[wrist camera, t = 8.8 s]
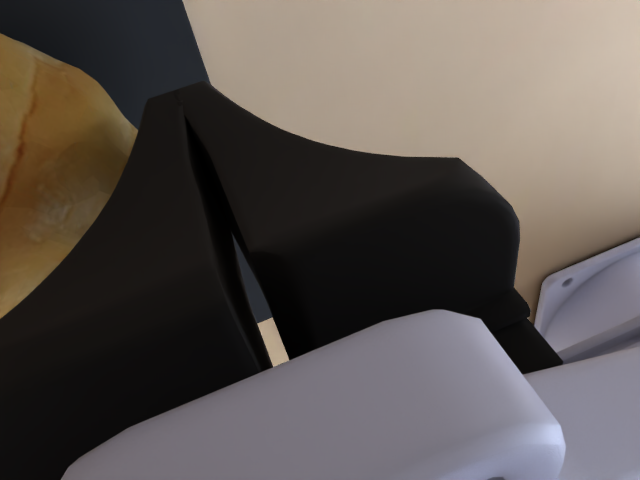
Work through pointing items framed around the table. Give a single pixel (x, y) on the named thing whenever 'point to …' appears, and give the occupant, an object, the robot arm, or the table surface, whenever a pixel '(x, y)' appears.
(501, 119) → the table surface
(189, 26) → the placemat
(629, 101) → the table surface
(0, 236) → the pastry
